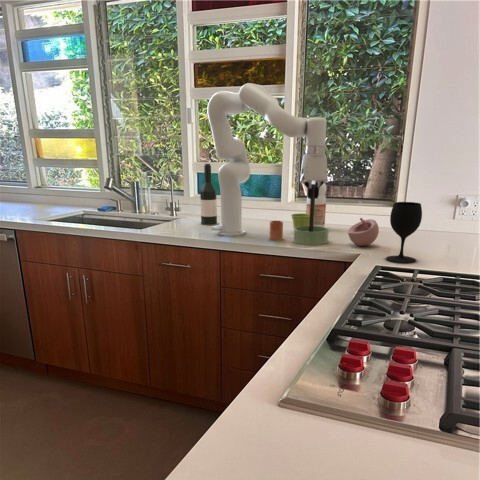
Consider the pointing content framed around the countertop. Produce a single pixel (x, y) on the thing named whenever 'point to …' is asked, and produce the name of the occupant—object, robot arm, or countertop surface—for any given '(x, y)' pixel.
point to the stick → (312, 209)
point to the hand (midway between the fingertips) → (312, 197)
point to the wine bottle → (208, 199)
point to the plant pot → (300, 220)
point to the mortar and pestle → (364, 232)
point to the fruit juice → (318, 207)
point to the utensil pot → (276, 230)
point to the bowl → (311, 235)
